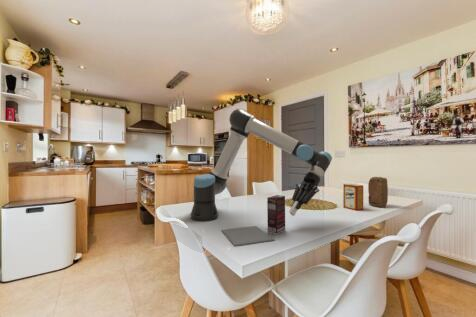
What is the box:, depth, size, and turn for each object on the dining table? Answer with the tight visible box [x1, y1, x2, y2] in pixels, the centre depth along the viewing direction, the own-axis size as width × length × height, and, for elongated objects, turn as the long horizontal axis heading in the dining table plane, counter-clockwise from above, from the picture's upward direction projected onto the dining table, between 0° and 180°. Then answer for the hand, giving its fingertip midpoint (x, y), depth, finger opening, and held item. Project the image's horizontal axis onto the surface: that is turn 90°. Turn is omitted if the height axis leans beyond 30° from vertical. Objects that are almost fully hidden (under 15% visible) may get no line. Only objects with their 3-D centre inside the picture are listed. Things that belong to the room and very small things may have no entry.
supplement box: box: [266, 194, 286, 236], centre depth 98 cm, size 9×5×16 cm, turn 141°
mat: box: [221, 225, 276, 247], centre depth 93 cm, size 18×17×1 cm
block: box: [367, 176, 389, 208], centre depth 150 cm, size 11×8×20 cm
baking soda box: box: [342, 183, 364, 212], centre depth 142 cm, size 10×6×16 cm
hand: (291, 213), depth 102 cm, fingers closed
